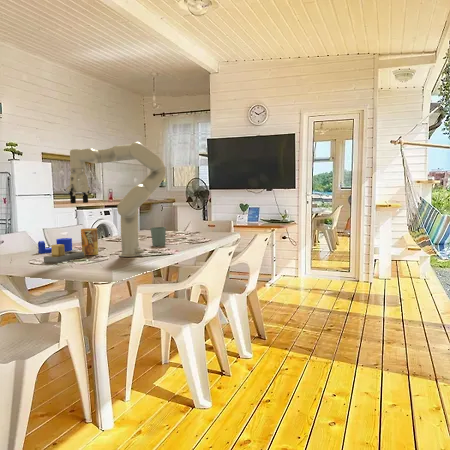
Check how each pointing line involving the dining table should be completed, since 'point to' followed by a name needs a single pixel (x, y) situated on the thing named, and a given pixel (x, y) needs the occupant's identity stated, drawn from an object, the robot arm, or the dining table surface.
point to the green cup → (158, 236)
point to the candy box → (89, 241)
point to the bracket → (65, 241)
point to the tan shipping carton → (58, 250)
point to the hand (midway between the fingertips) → (79, 203)
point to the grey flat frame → (64, 257)
